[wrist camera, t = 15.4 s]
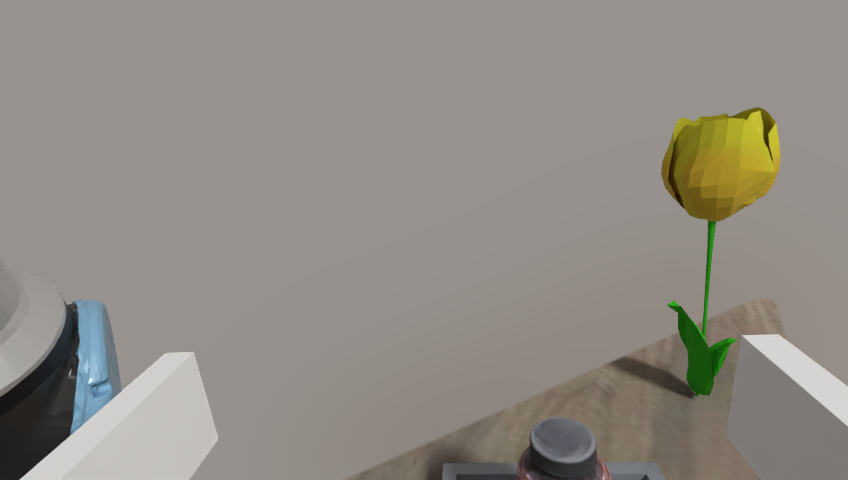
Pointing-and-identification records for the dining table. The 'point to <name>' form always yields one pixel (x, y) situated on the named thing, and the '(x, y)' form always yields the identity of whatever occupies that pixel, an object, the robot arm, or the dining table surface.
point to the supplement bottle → (561, 453)
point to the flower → (717, 201)
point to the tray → (503, 476)
